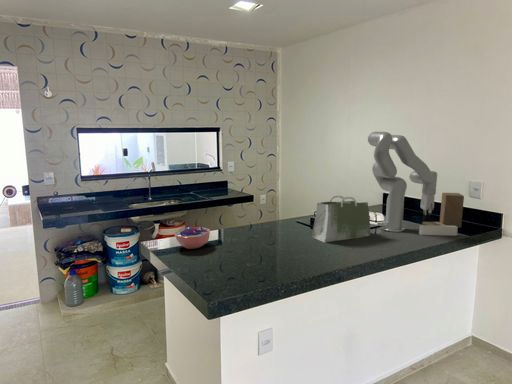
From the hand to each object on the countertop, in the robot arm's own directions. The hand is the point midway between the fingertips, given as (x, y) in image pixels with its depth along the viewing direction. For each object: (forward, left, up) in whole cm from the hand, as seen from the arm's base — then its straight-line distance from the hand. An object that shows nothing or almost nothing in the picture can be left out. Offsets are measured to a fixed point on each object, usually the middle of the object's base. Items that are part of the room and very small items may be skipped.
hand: (426, 220), depth 234 cm
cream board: (0, -17, -4) cm, 18 cm away
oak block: (+1, -11, -4) cm, 11 cm away
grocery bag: (-55, -24, -4) cm, 61 cm away
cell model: (-134, -50, -4) cm, 143 cm away
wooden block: (+16, +4, -4) cm, 17 cm away
